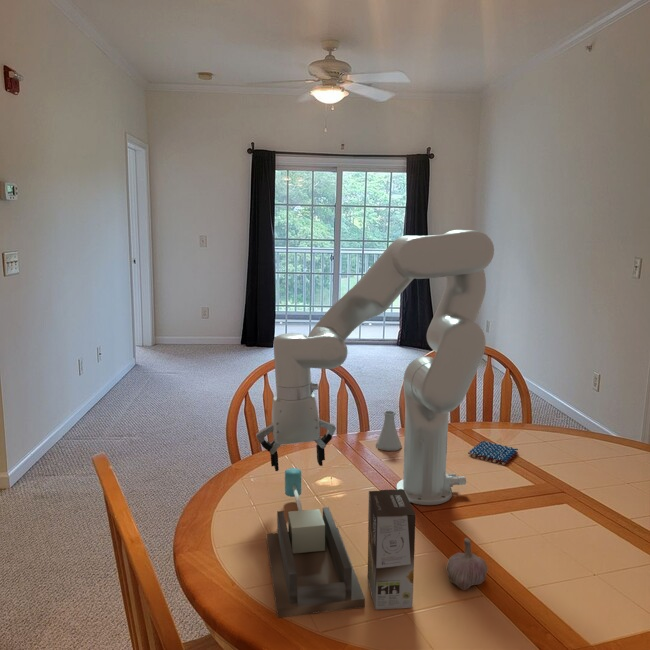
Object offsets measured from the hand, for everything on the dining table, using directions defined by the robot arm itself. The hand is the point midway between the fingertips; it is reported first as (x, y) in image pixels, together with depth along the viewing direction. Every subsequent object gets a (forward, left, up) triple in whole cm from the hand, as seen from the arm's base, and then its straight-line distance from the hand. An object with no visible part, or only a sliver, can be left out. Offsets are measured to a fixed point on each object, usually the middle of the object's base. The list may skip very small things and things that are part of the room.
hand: (298, 466), depth 123 cm
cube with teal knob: (+1, +11, -6) cm, 12 cm away
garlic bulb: (-25, +33, -9) cm, 42 cm away
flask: (-29, -27, -9) cm, 40 cm away
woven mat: (-55, -17, -9) cm, 58 cm away
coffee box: (-11, +34, -9) cm, 36 cm away
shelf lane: (+1, +26, -8) cm, 27 cm away
